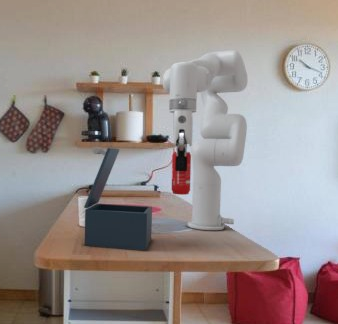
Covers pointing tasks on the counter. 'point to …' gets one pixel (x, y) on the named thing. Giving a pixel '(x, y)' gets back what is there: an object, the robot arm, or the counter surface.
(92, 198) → the lid
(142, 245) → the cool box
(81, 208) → the white cup
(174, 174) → the beverage can
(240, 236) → the counter surface
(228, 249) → the counter surface
